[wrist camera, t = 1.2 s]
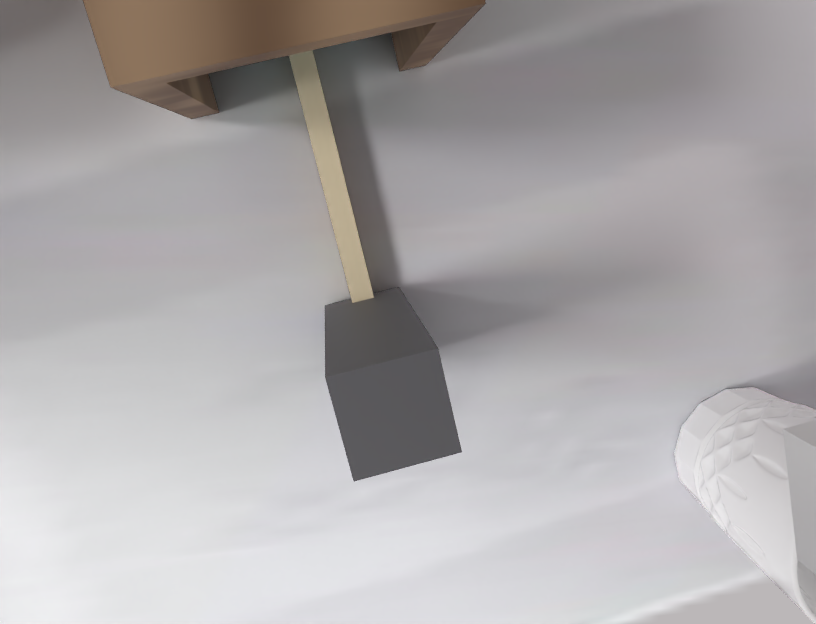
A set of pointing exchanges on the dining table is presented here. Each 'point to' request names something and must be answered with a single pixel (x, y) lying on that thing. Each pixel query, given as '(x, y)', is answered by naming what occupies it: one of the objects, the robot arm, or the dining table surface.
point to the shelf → (251, 38)
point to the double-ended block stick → (373, 334)
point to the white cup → (748, 480)
